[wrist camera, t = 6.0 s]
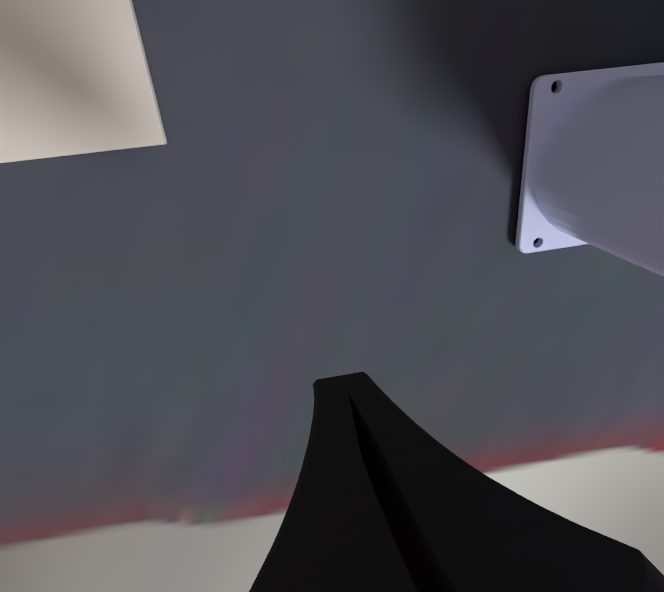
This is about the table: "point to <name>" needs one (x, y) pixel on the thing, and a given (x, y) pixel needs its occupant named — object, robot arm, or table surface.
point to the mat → (73, 80)
